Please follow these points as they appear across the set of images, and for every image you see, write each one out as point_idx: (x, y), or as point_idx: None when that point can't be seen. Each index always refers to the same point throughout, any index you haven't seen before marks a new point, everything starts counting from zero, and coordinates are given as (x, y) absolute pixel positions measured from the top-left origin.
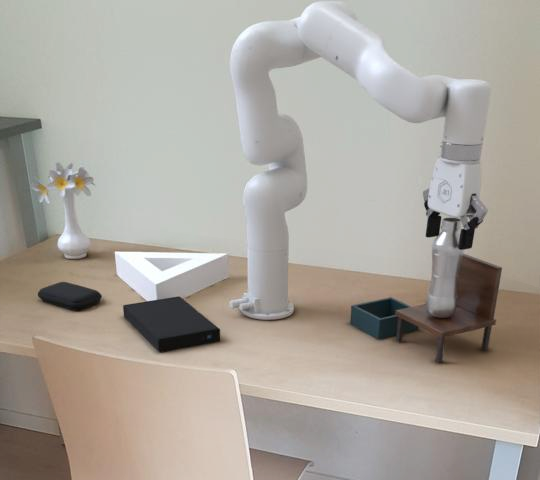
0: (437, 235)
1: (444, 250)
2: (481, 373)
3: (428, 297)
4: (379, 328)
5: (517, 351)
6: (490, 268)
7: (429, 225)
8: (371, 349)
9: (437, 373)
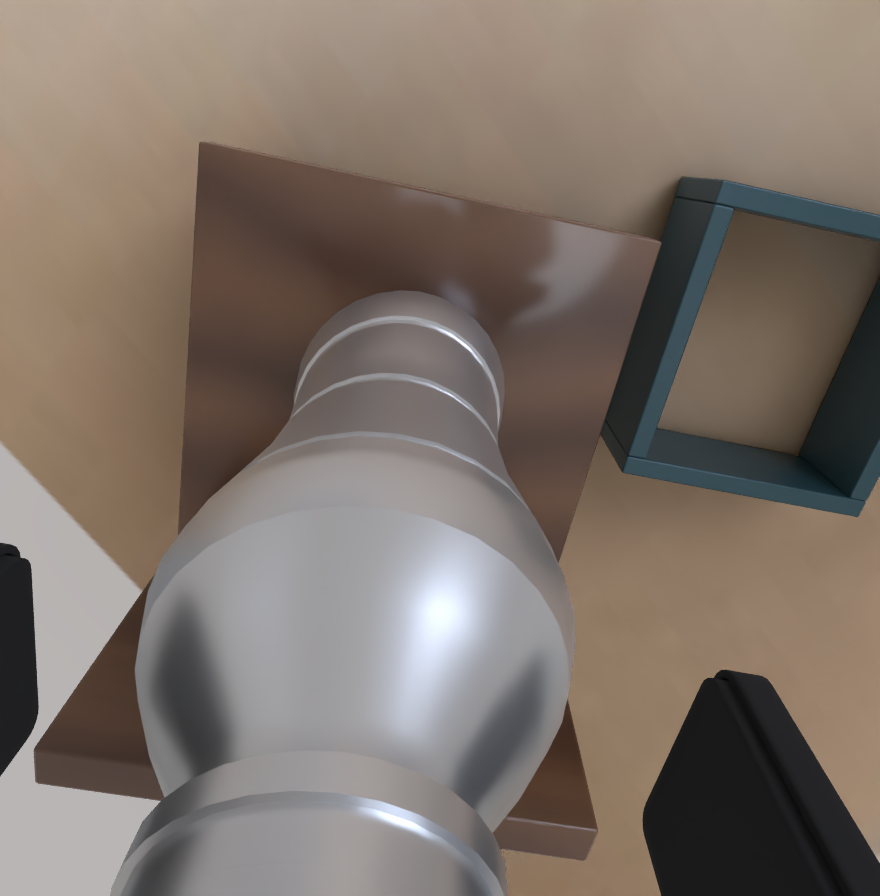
0: (648, 801)
1: (258, 478)
2: (65, 227)
3: (450, 322)
4: (701, 180)
5: (160, 541)
6: (128, 742)
7: (797, 835)
8: (628, 23)
9: (181, 43)
